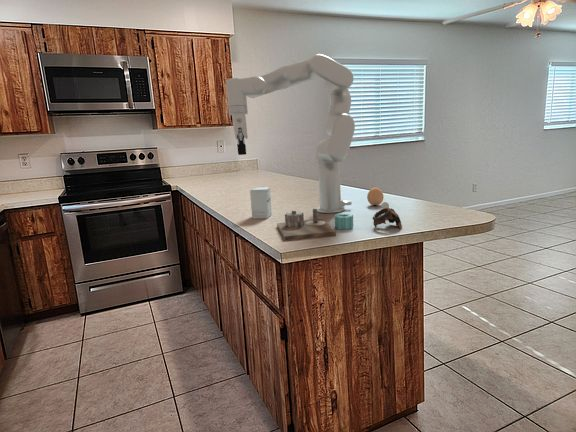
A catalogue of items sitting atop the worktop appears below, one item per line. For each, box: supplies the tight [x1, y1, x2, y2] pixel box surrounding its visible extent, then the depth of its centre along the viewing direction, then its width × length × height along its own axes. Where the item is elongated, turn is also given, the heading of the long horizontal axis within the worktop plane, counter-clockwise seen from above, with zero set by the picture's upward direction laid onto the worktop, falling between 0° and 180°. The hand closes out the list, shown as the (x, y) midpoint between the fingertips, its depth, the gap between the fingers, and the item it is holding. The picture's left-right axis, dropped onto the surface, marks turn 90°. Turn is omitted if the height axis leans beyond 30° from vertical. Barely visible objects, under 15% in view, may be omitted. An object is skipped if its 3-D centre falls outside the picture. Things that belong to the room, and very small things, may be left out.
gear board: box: [276, 208, 337, 242], centre depth 145 cm, size 18×20×7 cm
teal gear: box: [333, 213, 354, 230], centre depth 147 cm, size 7×7×4 cm
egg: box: [366, 186, 384, 206], centre depth 182 cm, size 7×7×8 cm
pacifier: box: [375, 201, 390, 220], centre depth 158 cm, size 7×6×6 cm
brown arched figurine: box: [371, 207, 403, 230], centre depth 144 cm, size 12×10×8 cm
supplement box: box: [249, 186, 273, 219], centre depth 172 cm, size 7×7×13 cm
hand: (242, 153), depth 161 cm, fingers open, 9 cm apart
